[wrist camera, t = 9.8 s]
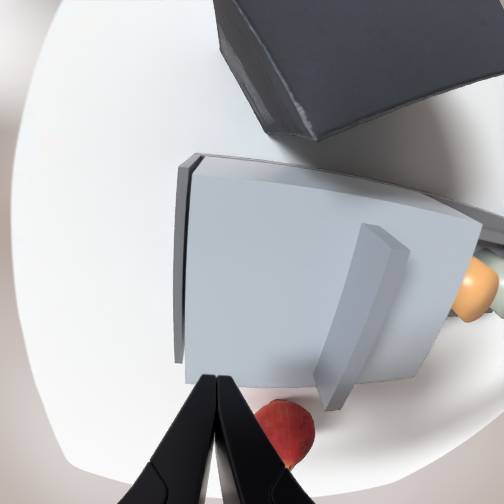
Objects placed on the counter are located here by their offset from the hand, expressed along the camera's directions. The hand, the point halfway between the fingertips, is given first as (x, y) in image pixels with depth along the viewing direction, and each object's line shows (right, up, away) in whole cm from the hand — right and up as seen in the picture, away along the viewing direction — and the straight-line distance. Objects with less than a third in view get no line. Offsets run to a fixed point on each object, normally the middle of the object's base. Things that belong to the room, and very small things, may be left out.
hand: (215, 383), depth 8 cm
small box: (+5, +15, +6) cm, 17 cm away
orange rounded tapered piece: (+16, +3, +12) cm, 20 cm away
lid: (+5, +4, +10) cm, 12 cm away
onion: (+3, -10, +18) cm, 21 cm away
